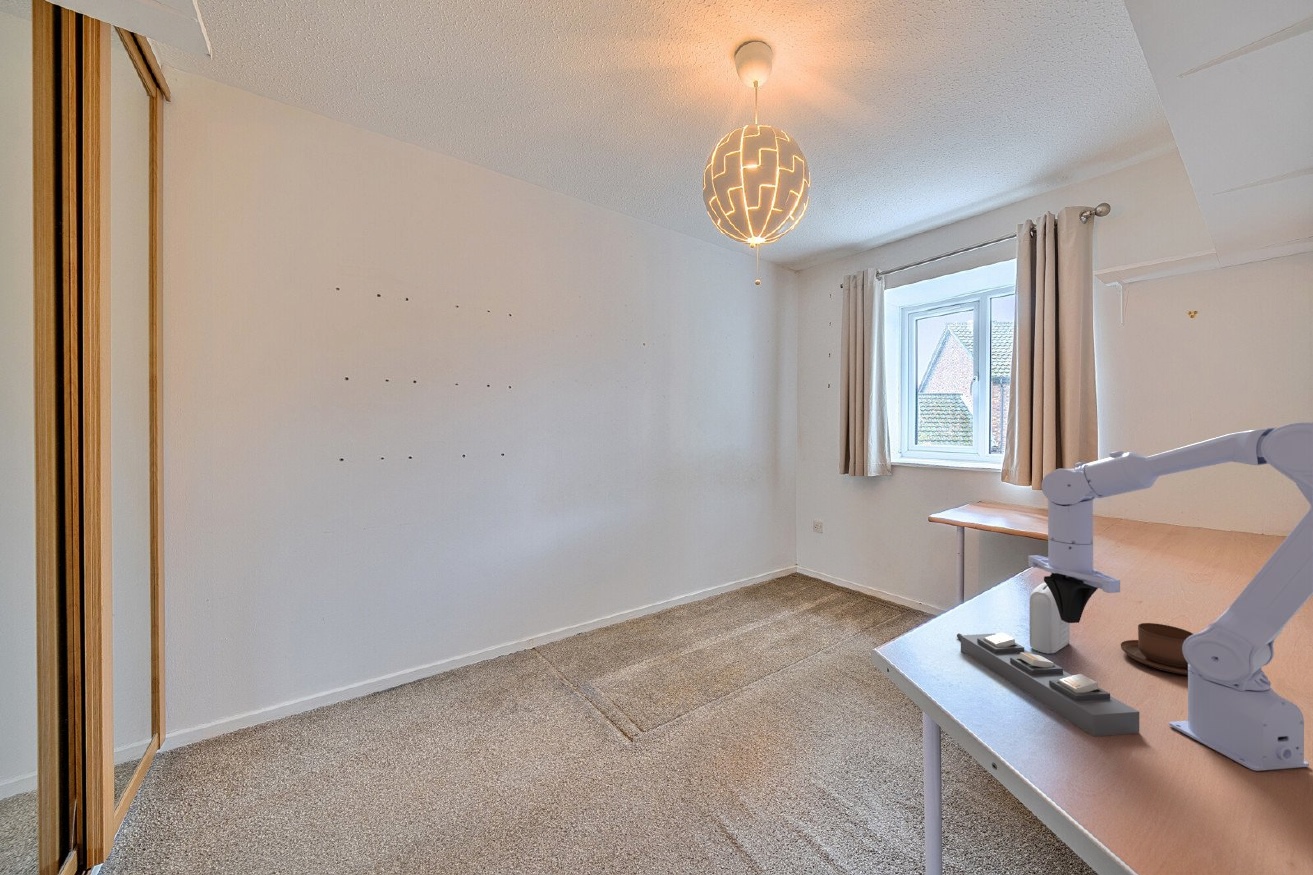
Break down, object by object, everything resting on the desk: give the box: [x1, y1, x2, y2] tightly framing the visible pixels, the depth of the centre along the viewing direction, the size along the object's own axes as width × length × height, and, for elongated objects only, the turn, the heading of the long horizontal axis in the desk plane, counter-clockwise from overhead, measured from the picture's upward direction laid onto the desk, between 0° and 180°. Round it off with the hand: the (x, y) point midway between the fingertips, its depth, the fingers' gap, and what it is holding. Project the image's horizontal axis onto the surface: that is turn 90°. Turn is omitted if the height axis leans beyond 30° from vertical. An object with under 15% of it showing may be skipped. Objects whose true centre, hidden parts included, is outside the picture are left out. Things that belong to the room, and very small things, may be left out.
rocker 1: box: [985, 632, 1016, 647], centre depth 88 cm, size 3×4×1 cm
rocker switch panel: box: [956, 632, 1140, 737], centre depth 83 cm, size 32×7×4 cm, turn 5°
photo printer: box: [1029, 582, 1071, 655], centre depth 94 cm, size 10×4×12 cm, turn 123°
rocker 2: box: [1059, 673, 1099, 693], centre depth 73 cm, size 3×4×1 cm
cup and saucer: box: [1120, 622, 1194, 676], centre depth 86 cm, size 12×12×6 cm
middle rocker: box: [1019, 652, 1055, 667], centre depth 80 cm, size 3×4×1 cm
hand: (1070, 621), depth 81 cm, fingers closed
